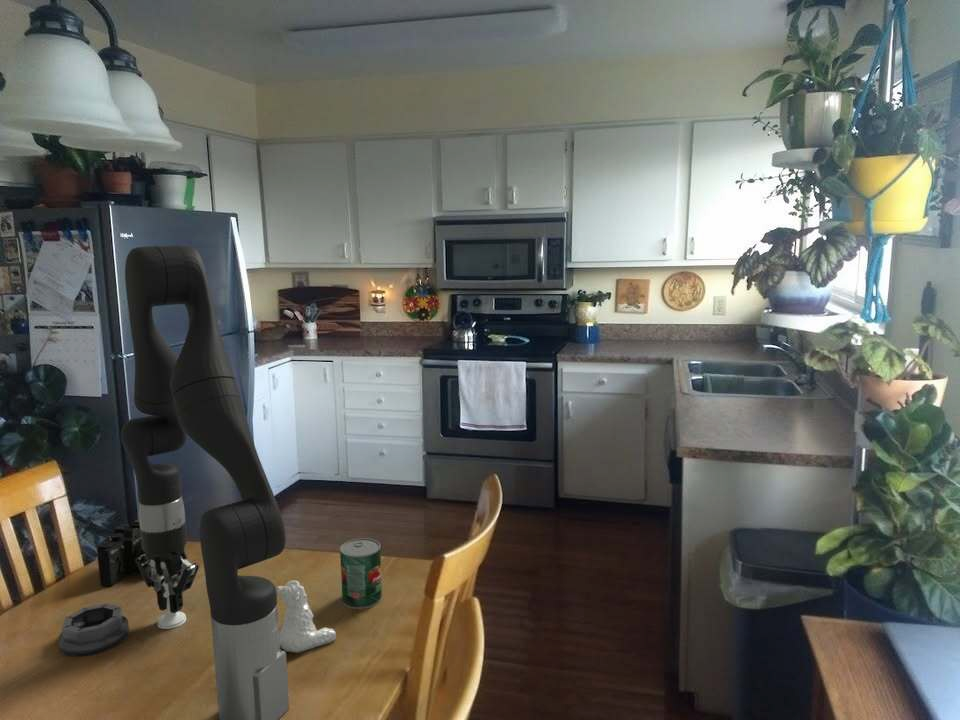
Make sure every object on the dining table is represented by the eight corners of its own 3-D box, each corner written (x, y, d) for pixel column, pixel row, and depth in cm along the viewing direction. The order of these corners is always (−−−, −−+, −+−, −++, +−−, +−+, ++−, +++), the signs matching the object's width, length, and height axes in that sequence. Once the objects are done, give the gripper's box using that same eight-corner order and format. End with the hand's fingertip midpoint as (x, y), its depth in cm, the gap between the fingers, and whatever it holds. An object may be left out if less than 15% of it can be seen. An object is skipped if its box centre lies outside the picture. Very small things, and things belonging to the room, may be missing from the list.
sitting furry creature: (339, 639, 121) (336, 577, 119) (302, 664, 114) (298, 598, 112) (301, 624, 127) (298, 563, 124) (264, 647, 119) (260, 583, 117)
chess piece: (178, 611, 131) (173, 563, 129) (191, 620, 128) (187, 571, 126) (152, 622, 127) (147, 573, 125) (165, 632, 124) (160, 581, 122)
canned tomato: (386, 604, 133) (384, 551, 131) (346, 612, 130) (343, 559, 128) (377, 585, 140) (375, 535, 138) (338, 593, 137) (336, 541, 136)
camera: (138, 591, 139) (134, 545, 137) (93, 586, 141) (87, 541, 139) (180, 560, 152) (176, 517, 151) (138, 556, 154) (134, 514, 153)
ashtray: (142, 627, 125) (140, 607, 125) (89, 662, 115) (87, 640, 115) (99, 616, 129) (97, 597, 129) (44, 648, 119) (41, 627, 119)
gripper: (117, 524, 123) (126, 612, 126) (176, 536, 118) (184, 627, 121) (150, 509, 130) (158, 593, 133) (207, 519, 125) (214, 606, 128)
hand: (171, 609), depth 127 cm, fingers closed on chess piece
